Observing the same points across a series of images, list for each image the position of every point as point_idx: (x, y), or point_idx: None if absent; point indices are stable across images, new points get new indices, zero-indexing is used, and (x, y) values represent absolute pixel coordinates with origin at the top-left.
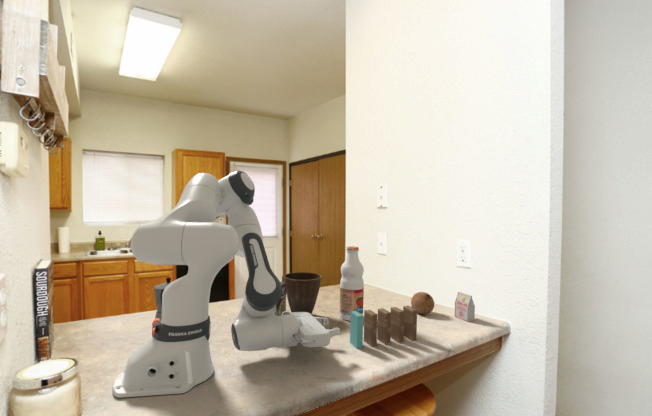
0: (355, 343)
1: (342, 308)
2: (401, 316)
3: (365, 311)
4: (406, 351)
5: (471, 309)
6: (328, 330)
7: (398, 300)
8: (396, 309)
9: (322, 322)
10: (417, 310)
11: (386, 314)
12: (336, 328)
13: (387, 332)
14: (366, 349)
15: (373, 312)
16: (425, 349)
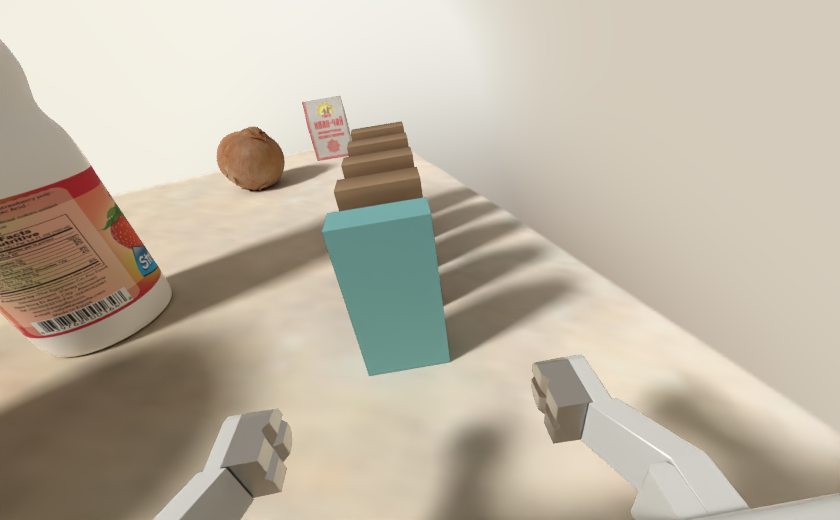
0: (432, 350)
1: (54, 312)
2: None
3: (348, 192)
4: (492, 237)
5: (347, 126)
6: (702, 477)
7: (144, 203)
8: (376, 140)
9: (245, 490)
10: (261, 180)
11: (412, 158)
12: (574, 376)
13: None
14: (463, 328)
15: (385, 173)
16: (481, 208)
